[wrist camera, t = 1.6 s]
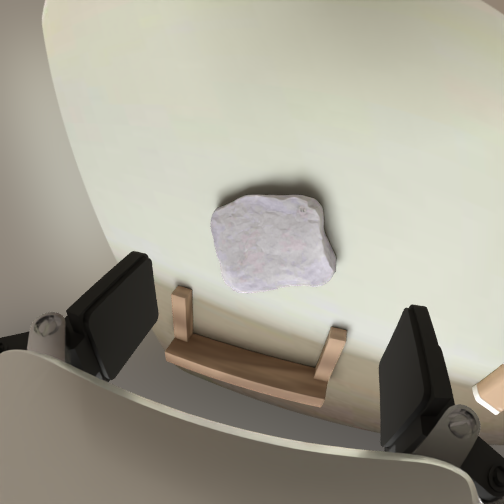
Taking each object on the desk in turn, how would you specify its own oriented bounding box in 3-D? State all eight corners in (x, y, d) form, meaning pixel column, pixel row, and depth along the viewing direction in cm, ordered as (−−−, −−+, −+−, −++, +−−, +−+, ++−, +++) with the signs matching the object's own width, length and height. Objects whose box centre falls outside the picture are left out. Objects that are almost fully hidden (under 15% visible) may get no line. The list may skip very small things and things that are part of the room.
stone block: (217, 201, 34) (237, 284, 36) (197, 206, 30) (222, 300, 32) (322, 178, 30) (339, 271, 32) (317, 180, 26) (337, 288, 28)
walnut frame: (178, 285, 39) (159, 308, 35) (346, 330, 35) (344, 360, 31) (181, 338, 44) (166, 360, 40) (325, 379, 40) (320, 407, 36)
